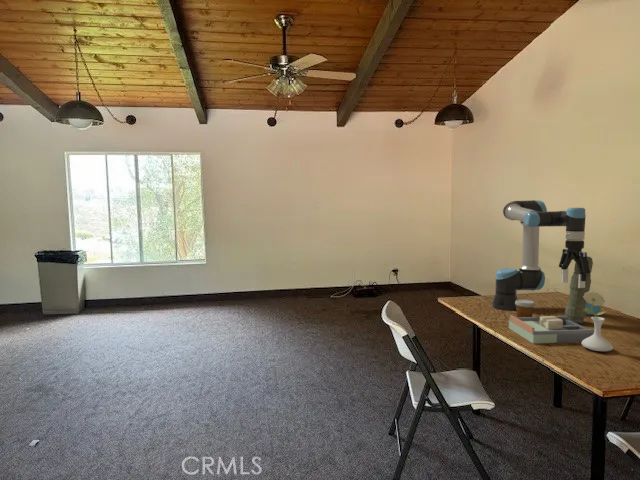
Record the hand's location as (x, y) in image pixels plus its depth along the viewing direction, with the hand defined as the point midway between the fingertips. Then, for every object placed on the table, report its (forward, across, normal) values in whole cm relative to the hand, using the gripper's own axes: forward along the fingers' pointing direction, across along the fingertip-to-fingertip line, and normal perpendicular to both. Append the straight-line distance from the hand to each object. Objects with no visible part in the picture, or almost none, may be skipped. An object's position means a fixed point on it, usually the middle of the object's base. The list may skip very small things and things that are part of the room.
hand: (572, 285), depth 190 cm
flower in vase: (+24, +19, -2) cm, 31 cm away
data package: (+24, -32, +31) cm, 51 cm away
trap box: (+24, 0, -9) cm, 26 cm away
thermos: (+24, -17, +13) cm, 32 cm away
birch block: (+20, 0, -10) cm, 23 cm away
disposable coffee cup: (+24, -18, -13) cm, 33 cm away
